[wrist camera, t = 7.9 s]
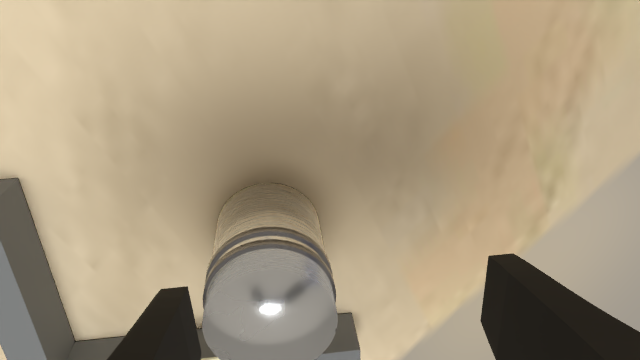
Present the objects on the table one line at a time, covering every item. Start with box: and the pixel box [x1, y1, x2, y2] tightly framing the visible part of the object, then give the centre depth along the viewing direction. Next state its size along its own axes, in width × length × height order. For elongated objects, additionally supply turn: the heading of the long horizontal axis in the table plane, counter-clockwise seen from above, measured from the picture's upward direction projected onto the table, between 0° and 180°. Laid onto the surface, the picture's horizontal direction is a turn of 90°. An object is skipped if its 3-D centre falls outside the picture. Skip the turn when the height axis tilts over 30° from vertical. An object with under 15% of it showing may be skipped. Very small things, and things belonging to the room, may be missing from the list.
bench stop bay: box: [0, 178, 360, 360], centre depth 21 cm, size 14×10×2 cm
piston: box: [202, 183, 338, 360], centre depth 19 cm, size 5×5×6 cm
